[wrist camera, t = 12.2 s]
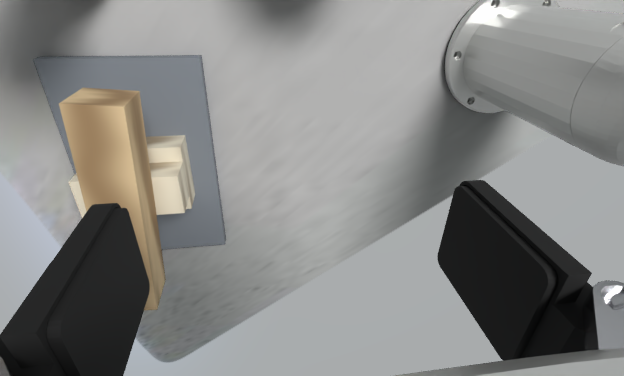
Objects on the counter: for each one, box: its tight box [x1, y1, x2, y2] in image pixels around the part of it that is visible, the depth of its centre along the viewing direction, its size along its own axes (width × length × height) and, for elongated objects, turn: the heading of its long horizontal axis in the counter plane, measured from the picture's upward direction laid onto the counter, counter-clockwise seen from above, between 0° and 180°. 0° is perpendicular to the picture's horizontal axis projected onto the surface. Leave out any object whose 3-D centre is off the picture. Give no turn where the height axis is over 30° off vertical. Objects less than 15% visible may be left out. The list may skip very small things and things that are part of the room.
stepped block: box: [69, 135, 195, 218], centre depth 35 cm, size 9×7×6 cm
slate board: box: [33, 55, 226, 249], centre depth 38 cm, size 14×22×1 cm, turn 179°
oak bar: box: [59, 88, 166, 310], centre depth 30 cm, size 4×20×4 cm, turn 174°
